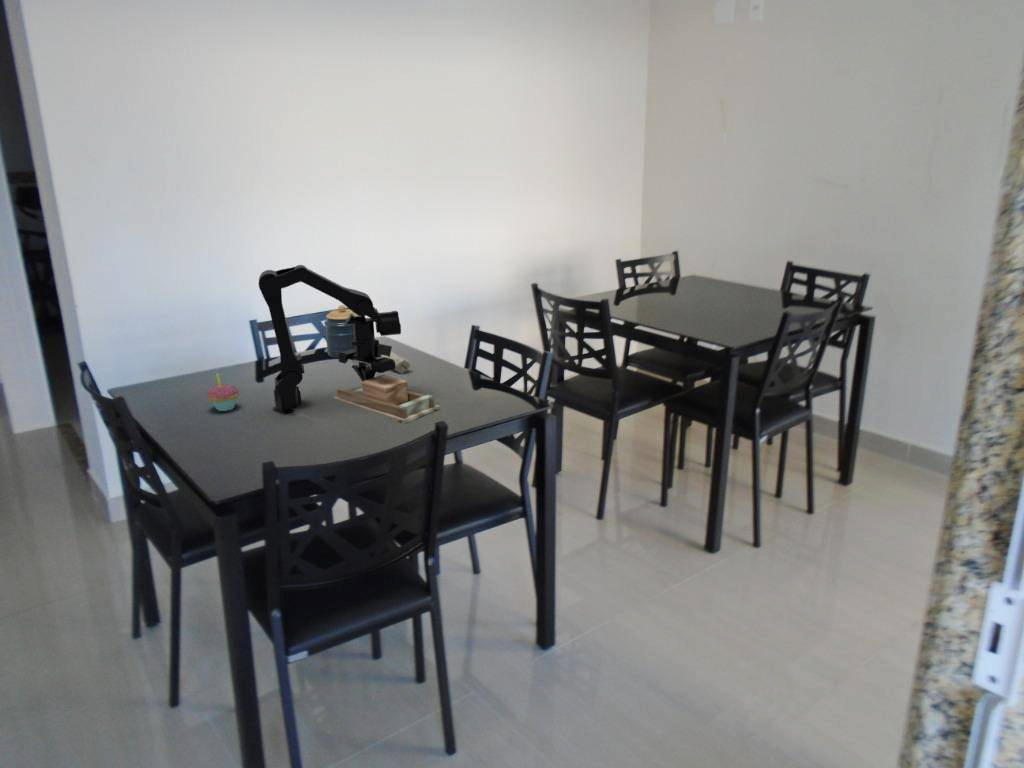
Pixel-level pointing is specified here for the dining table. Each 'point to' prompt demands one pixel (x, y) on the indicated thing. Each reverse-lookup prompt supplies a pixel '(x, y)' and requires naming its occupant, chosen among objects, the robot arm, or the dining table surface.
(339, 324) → the canister
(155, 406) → the dining table surface
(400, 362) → the faceted club
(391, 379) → the crate
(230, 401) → the cupcake
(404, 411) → the bay
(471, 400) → the dining table surface
